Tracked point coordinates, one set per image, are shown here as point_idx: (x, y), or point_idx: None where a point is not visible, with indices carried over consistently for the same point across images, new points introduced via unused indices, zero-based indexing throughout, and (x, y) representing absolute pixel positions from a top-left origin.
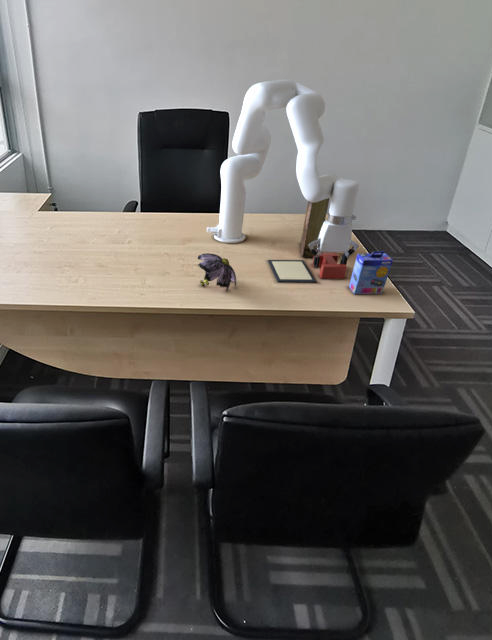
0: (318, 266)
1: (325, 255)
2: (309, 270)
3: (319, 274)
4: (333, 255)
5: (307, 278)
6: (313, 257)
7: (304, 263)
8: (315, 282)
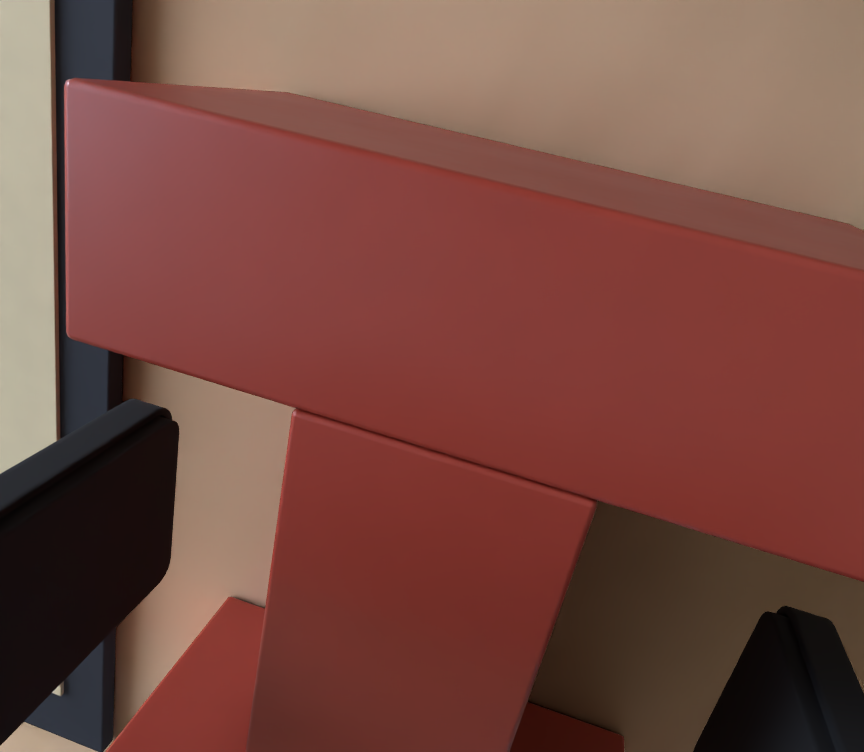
0: (144, 597)
1: (380, 415)
2: None
3: (214, 616)
4: (698, 500)
5: None
6: (175, 88)
7: (94, 52)
8: (102, 738)
